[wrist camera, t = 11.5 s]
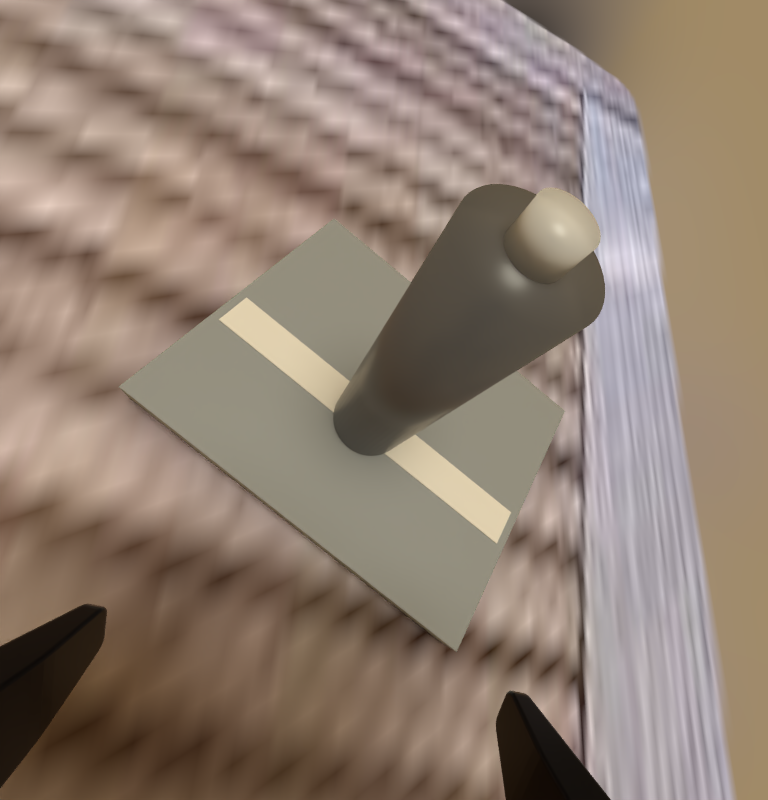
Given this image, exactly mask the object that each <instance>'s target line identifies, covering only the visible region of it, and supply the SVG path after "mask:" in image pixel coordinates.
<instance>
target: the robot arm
mask: <svg viewBox="0 0 768 800" xmlns="http://www.w3.org/2000/svg"><path fill="white" fill-rule="evenodd" d="M106 616H107V610H106V608H105V607H102V606H97V605H92V604H84V605H82V606H79V607H77V608H75V609H73V610H71V611H69V612H67V613H65V614H64V615H62V616H60V617H58V618H56V619H54V620H52V621H50V622H48V623H46V624H44V625H42V626H40V627H38V628H36V629H34V630H32V631H30V632H28V633H26V634H24V635H22V636H20V637H18V638H16V639H14V640H12V641H10V642H8V643H6V644H4V645H2V646H0V788H1V787H2V785H3V784H4V783H5V782H6V780H7V779H8V778H9V777H10V775H11V774H12V773H13V771H14V770H15V769H16V768H17V766H18V765H19V764H20V763H21V761H22V760H23V759H24V757H25V756H26V755H27V754H28V752H29V751H30V750H31V748H32V747H33V746H34V744H35V743H36V742H37V741H38V739H39V738H40V736H41V735H42V734H43V732H44V731H45V729H46V728H47V726H48V725H49V724H50V722H51V721H52V719H53V718H54V716H55V715H56V713H57V712H58V710H59V709H60V707H61V706H62V704H63V703H64V701H65V700H66V698H67V697H68V696H69V694H70V693H71V691H72V690H73V688H74V687H75V685H76V684H77V682H78V681H79V679H80V678H81V676H82V675H83V673H84V672H85V670H86V669H87V667H88V666H89V664H90V663H91V661H92V660H93V658H94V657H95V655H96V654H97V652H98V651H99V649H100V647H101V645H102V643H103V640H104V635H105V625H106ZM496 732H497V740H498V747H499V754H500V761H501V768H502V775H503V783H504V790H505V797H506V800H611V799H610V798H609V797H608V796H607V794H606V793H605V792H604V791H603V789H602V788H601V787H600V785H599V784H598V783H597V782H596V780H595V779H594V778H593V777H592V775H591V774H590V773H589V772H588V770H587V769H586V768H585V767H584V765H583V764H582V763H581V761H580V760H579V759H578V758H577V756H576V755H575V754H574V753H573V751H572V750H571V749H570V748H569V746H568V745H567V744H566V743H565V741H564V740H563V739H562V737H561V736H560V735H559V734H558V732H557V731H556V730H555V729H554V727H553V726H552V725H551V724H550V722H549V721H548V720H547V719H546V717H545V716H544V715H543V713H542V712H541V711H540V710H539V708H538V707H537V706H536V705H535V703H534V702H533V701H532V700H531V698H530V697H529V696H528V695H526V694H524V693H520V692H515V691H509V692H508V693H507V694H506V696H505V699H504V701H503V703H502V706H501V708H500V711H499V713H498V716H497V720H496Z"/></svg>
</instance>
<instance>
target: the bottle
mask: <svg viewBox="0 0 768 800" xmlns="http://www.w3.org/2000/svg"><path fill="white" fill-rule="evenodd" d="M599 243H600V230H599V226H598V224H597V222H596V220H595V218H594V216H593V215H592V213H591V212H590V211H589V209H588V208H587V207H586V206H585V205H584V204H583V203H582V202H581V201H580V200H578V199H577V198H576V197H574V196H573V195H571V194H570V193H568V192H566V191H563V190H561V189H557V188H545V189H543V190H541V191H540V192H539V193H538V194H537V195H536V194H534V193H532V192H529V191H527V190H525V189H522V188H518V187H515V186H510V185H503V184H490V185H485V186H481V187H479V188H476V189H474V190H473V191H471V192H470V193H468V194H467V195H466V196H465V197H464V199H463V200H462V201H461V203H460V204H459V206H458V208H457V209H456V211H455V212H454V214H453V216H452V217H451V219H450V221H449V222H448V224H447V225H446V227H445V229H444V230H443V232H442V233H441V235H440V237H439V238H438V240H437V242H436V243H435V245H434V246H433V248H432V250H431V251H430V253H429V254H428V256H427V258H426V259H425V261H424V262H423V264H422V266H421V267H420V269H419V271H418V272H417V274H416V275H415V277H414V279H413V280H412V282H411V283H410V285H409V287H408V288H407V290H406V292H405V293H404V295H403V296H402V298H401V300H400V301H399V303H398V304H397V306H396V308H395V309H394V311H393V312H392V314H391V316H390V317H389V319H388V321H387V322H386V324H385V325H384V327H383V329H382V330H381V332H380V333H379V335H378V337H377V338H376V340H375V341H374V343H373V345H372V346H371V348H370V350H369V351H368V353H367V354H366V356H365V358H364V359H363V361H362V362H361V364H360V366H359V367H358V369H357V371H356V372H355V374H354V375H353V377H352V379H351V380H350V382H349V383H348V385H347V387H346V388H345V390H344V391H343V393H342V395H341V396H340V398H339V400H338V401H337V403H336V406H335V409H334V415H333V420H334V426H335V429H336V432H337V434H338V436H339V438H340V439H341V440H342V442H343V443H344V444H345V445H346V446H347V447H349V448H350V449H351V450H353V451H355V452H357V453H359V454H362V455H368V456H375V455H381V454H384V453H386V452H388V451H390V450H391V449H393V448H395V447H396V446H398V445H399V444H401V443H402V442H404V441H406V440H407V439H409V438H410V437H412V436H414V435H415V434H417V433H418V432H420V431H422V430H423V429H425V428H426V427H428V426H430V425H431V424H433V423H434V422H436V421H437V420H439V419H441V418H442V417H444V416H445V415H447V414H449V413H450V412H452V411H453V410H455V409H457V408H458V407H460V406H461V405H463V404H465V403H466V402H468V401H469V400H471V399H473V398H474V397H476V396H477V395H479V394H480V393H482V392H484V391H485V390H487V389H488V388H490V387H492V386H493V385H495V384H496V383H498V382H500V381H501V380H503V379H504V378H506V377H508V376H509V375H511V374H512V373H514V372H515V371H517V370H519V369H520V368H522V367H523V366H525V365H527V364H528V363H530V362H531V361H533V360H535V359H536V358H538V357H539V356H541V355H543V354H544V353H546V352H547V351H549V350H551V349H552V348H554V347H555V346H557V345H558V344H560V343H562V342H563V341H565V340H566V339H568V338H570V337H571V336H573V335H574V334H576V333H578V332H579V331H581V330H582V329H584V328H586V327H587V326H589V325H590V324H591V323H592V322H593V321H594V320H595V319H596V318H597V317H598V315H599V314H600V312H601V310H602V307H603V303H604V298H605V283H604V277H603V273H602V269H601V266H600V264H599V261H598V259H597V257H596V255H595V253H594V250H595V249H596V248H597V247H598V245H599Z"/></svg>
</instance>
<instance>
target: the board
mask: <svg viewBox="0 0 768 800" xmlns="http://www.w3.org/2000/svg"><path fill="white" fill-rule="evenodd" d="M410 283H411V282H410V281H408V280H407V279H406V278H405V277H404V276H402V275H401V274H400V273H399V272H398V271H396V270H395V269H394V268H393V267H392V266H390V265H389V264H388V263H387V262H386V261H384V260H383V259H382V258H381V257H380V256H378V255H377V254H376V253H375V252H374V251H372V250H371V249H370V248H369V247H368V246H366V245H365V244H364V243H363V242H362V241H360V240H359V239H358V238H357V237H356V236H354V235H353V234H352V233H351V232H350V231H348V230H347V229H346V228H345V227H344V226H342V225H341V224H340V223H339V222H338V221H336V220H335V219H333V220H332V221H330V222H329V223H328V224H326V225H325V226H324V227H323V228H321V229H320V230H319V231H318V232H316V233H315V234H314V235H312V236H311V237H310V238H309V239H307V240H306V241H305V242H303V243H302V244H301V245H300V246H298V247H297V248H296V249H294V250H293V251H292V252H291V253H289V254H288V255H287V256H286V257H284V258H283V259H282V260H280V261H279V262H278V263H277V264H275V265H274V266H273V267H271V268H270V269H269V270H268V271H266V272H265V273H264V274H262V275H261V276H260V277H259V278H257V279H256V280H255V281H253V282H252V283H251V284H250V285H248V286H247V287H246V288H245V289H243V290H242V291H241V292H239V293H238V294H237V295H236V296H234V297H233V298H232V299H230V300H229V301H228V302H227V303H225V304H224V305H223V306H221V307H220V308H219V309H218V310H216V311H215V312H214V313H213V314H211V315H210V316H209V317H207V318H206V319H205V320H204V321H202V322H201V323H200V324H198V325H197V326H196V327H195V328H193V329H192V330H191V331H189V332H188V333H187V334H186V335H184V336H183V337H182V338H181V339H179V340H178V341H177V342H175V343H174V344H173V345H172V346H170V347H169V348H168V349H166V350H165V351H164V352H163V353H161V354H160V355H159V356H157V357H156V358H155V359H154V360H152V361H151V362H150V363H149V364H147V365H146V366H145V367H143V368H142V369H141V370H140V371H138V372H137V373H136V374H134V375H133V376H132V377H131V378H129V379H128V380H127V381H125V382H124V383H123V384H122V385H120V386H119V387H120V388H121V390H122V391H123V392H124V393H125V394H126V395H127V396H128V397H129V398H130V399H131V400H133V401H134V402H135V403H137V404H138V405H139V406H140V407H142V408H143V409H144V410H146V411H147V412H148V413H149V414H151V415H152V416H153V417H154V418H156V419H157V420H158V421H160V422H161V423H162V424H163V425H165V426H166V427H167V428H168V429H170V430H171V431H172V432H174V433H175V434H176V435H177V436H179V437H180V438H181V439H182V440H184V441H185V442H186V443H188V444H189V445H190V446H191V447H193V448H194V449H195V450H197V451H198V452H199V453H200V454H202V455H203V456H204V457H205V458H207V459H208V460H209V461H211V462H212V463H213V464H214V465H216V466H217V467H218V468H219V469H221V470H222V471H223V472H225V473H226V474H227V475H228V476H230V477H231V478H232V479H234V480H235V481H236V482H237V483H239V484H240V485H241V486H242V487H244V488H245V489H246V490H248V491H249V492H250V493H251V494H253V495H254V496H255V497H256V498H258V499H259V500H260V501H262V502H263V503H264V504H265V505H267V506H268V507H269V508H270V509H272V510H273V511H274V512H276V513H277V514H278V515H279V516H281V517H282V518H283V519H285V520H286V521H287V522H288V523H290V524H291V525H292V526H293V527H295V528H296V529H297V530H299V531H300V532H301V533H302V534H304V535H305V536H306V537H307V538H309V539H310V540H311V541H313V542H314V543H315V544H316V545H318V546H319V547H320V548H321V549H323V550H324V551H325V552H327V553H328V554H329V555H330V556H332V557H333V558H334V559H336V560H337V561H338V562H339V563H341V564H342V565H343V566H344V567H346V568H347V569H348V570H350V571H351V572H352V573H353V574H355V575H356V576H357V577H358V578H360V579H361V580H362V581H364V582H365V583H366V584H367V585H369V586H370V587H371V588H372V589H374V590H375V591H376V592H378V593H379V594H380V595H381V596H383V597H384V598H385V599H387V600H388V601H389V602H390V603H392V604H393V605H394V606H395V607H397V608H398V609H399V610H401V611H402V612H403V613H404V614H406V615H407V616H408V617H409V618H411V619H412V620H413V621H415V622H416V623H417V624H418V625H420V626H421V627H422V628H424V629H425V630H426V631H427V632H429V633H430V634H431V635H432V636H434V637H435V638H436V639H438V640H439V641H440V642H441V643H443V644H444V645H446V646H448V647H449V648H451V649H453V650H455V651H456V652H457V650H458V648H459V645H460V643H461V641H462V639H463V637H464V634H465V632H466V630H467V628H468V625H469V623H470V621H471V619H472V616H473V614H474V612H475V610H476V608H477V605H478V603H479V601H480V599H481V596H482V594H483V592H484V590H485V588H486V585H487V583H488V581H489V579H490V576H491V574H492V572H493V570H494V568H495V565H496V563H497V561H498V559H499V556H500V554H501V552H502V550H503V547H504V545H505V543H506V541H507V539H508V536H509V534H510V532H511V530H512V527H513V525H514V523H515V521H516V519H517V516H518V514H519V512H520V510H521V507H522V505H523V503H524V501H525V498H526V496H527V494H528V492H529V490H530V487H531V485H532V483H533V481H534V478H535V476H536V474H537V472H538V470H539V467H540V465H541V463H542V461H543V458H544V456H545V454H546V452H547V450H548V447H549V445H550V443H551V441H552V438H553V436H554V434H555V432H556V429H557V427H558V425H559V423H560V421H561V418H562V416H563V414H564V412H565V411H564V410H563V409H562V408H561V407H559V406H558V405H557V404H556V403H555V402H553V401H552V400H551V399H550V398H549V397H547V396H546V395H545V394H544V393H543V392H541V391H540V390H539V389H538V388H537V387H535V386H534V385H533V384H532V383H531V382H529V381H528V380H527V379H526V378H525V377H523V376H522V375H521V374H520V373H519V372H517V371H515V372H514V373H512V374H511V375H509V376H508V377H506V378H504V379H503V380H501V381H500V382H498V383H496V384H495V385H493V386H492V387H490V388H488V389H487V390H485V391H484V392H482V393H480V394H479V395H477V396H476V397H474V398H473V399H471V400H469V401H468V402H466V403H465V404H463V405H461V406H460V407H458V408H457V409H455V410H453V411H452V412H450V413H449V414H447V415H445V416H444V417H442V418H441V419H439V420H437V421H436V422H434V423H433V424H431V425H430V426H428V427H426V428H425V429H423V430H422V431H420V432H418V433H417V434H415V435H414V436H412V437H410V438H409V439H407V440H406V441H404V442H402V443H401V444H399V445H398V446H396V447H395V448H393V449H391V450H390V451H388V452H386V453H384V454H381V455H375V456H368V455H362V454H359V453H357V452H355V451H353V450H351V449H350V448H349V447H347V446H346V445H345V444H344V443H343V442H342V440H341V439H340V438H339V436H338V434H337V432H336V429H335V426H334V420H333V415H334V409H335V406H336V403H337V401H338V400H339V398H340V396H341V395H342V393H343V391H344V390H345V388H346V387H347V385H348V383H349V382H350V380H351V379H352V377H353V375H354V374H355V372H356V371H357V369H358V367H359V366H360V364H361V362H362V361H363V359H364V358H365V356H366V354H367V353H368V351H369V350H370V348H371V346H372V345H373V343H374V341H375V340H376V338H377V337H378V335H379V333H380V332H381V330H382V329H383V327H384V325H385V324H386V322H387V321H388V319H389V317H390V316H391V314H392V312H393V311H394V309H395V308H396V306H397V304H398V303H399V301H400V300H401V298H402V296H403V295H404V293H405V292H406V290H407V288H408V287H409V285H410Z"/></svg>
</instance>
